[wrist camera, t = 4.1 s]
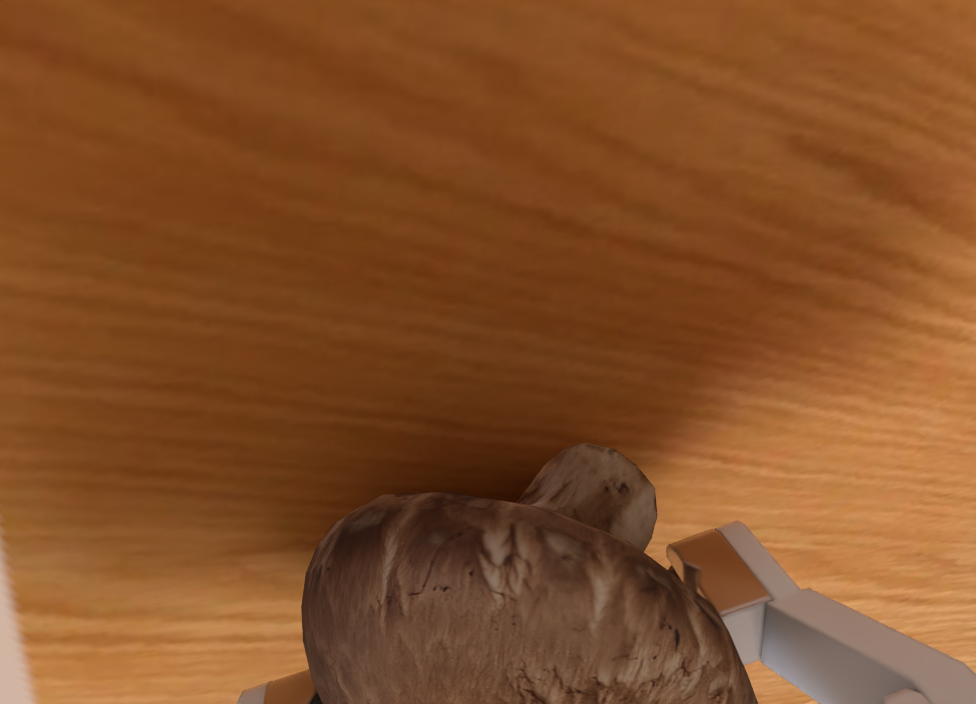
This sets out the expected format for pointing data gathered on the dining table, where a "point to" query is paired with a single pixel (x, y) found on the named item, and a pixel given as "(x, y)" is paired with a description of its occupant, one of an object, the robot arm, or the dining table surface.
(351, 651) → the mushroom
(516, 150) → the dining table surface
